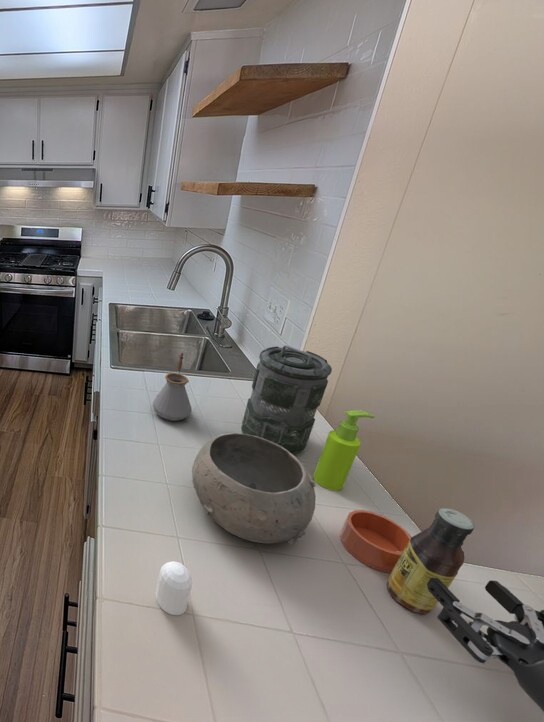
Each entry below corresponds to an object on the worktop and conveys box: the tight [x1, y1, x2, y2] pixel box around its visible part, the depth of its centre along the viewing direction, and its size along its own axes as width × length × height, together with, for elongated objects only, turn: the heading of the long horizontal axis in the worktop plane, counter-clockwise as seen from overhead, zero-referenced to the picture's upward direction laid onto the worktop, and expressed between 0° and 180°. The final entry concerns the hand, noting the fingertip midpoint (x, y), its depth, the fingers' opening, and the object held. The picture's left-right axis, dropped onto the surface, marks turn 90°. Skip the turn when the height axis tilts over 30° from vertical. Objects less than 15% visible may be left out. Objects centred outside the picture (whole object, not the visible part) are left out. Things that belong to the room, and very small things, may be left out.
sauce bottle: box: [386, 507, 475, 615], centre depth 64 cm, size 7×6×20 cm
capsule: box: [154, 560, 193, 616], centre depth 66 cm, size 5×5×8 cm
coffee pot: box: [152, 352, 192, 422], centre depth 121 cm, size 21×12×15 cm, turn 155°
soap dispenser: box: [312, 409, 375, 492], centre depth 90 cm, size 6×7×20 cm
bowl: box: [191, 432, 316, 544], centre depth 82 cm, size 23×23×15 cm
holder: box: [339, 509, 412, 574], centre depth 76 cm, size 10×10×5 cm
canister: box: [240, 344, 333, 456], centre depth 103 cm, size 16×16×28 cm
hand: (460, 582), depth 59 cm, fingers open, 8 cm apart
